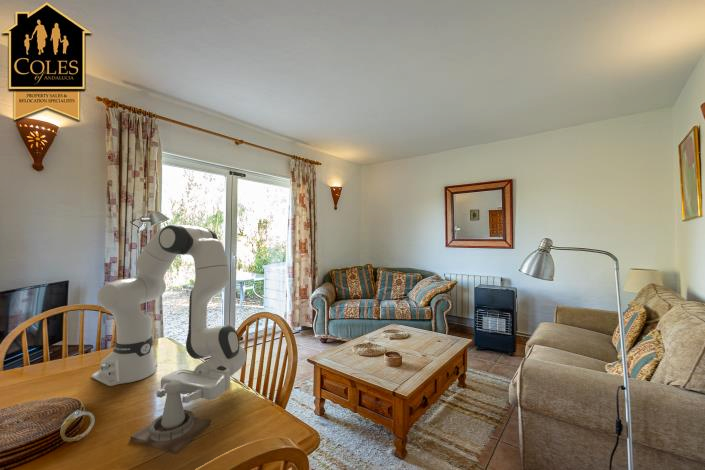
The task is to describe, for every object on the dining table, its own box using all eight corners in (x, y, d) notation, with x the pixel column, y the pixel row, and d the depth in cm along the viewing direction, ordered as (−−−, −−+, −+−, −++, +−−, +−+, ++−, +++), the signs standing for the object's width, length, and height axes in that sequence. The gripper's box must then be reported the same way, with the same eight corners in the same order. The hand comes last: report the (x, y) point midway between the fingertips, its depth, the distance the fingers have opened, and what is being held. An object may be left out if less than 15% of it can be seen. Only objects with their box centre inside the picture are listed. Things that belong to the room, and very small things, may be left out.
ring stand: (130, 440, 81) (130, 428, 81) (169, 414, 92) (169, 404, 92) (176, 453, 76) (176, 441, 76) (210, 424, 88) (210, 413, 88)
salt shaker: (168, 437, 80) (168, 390, 80) (156, 430, 83) (157, 384, 83) (189, 425, 85) (189, 380, 85) (177, 419, 88) (177, 375, 88)
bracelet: (61, 449, 77) (61, 419, 77) (59, 444, 79) (59, 414, 79) (96, 435, 83) (96, 406, 83) (92, 430, 85) (92, 402, 85)
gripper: (182, 361, 100) (143, 381, 87) (233, 370, 94) (199, 392, 81) (182, 380, 100) (143, 402, 87) (233, 389, 94) (199, 415, 81)
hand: (170, 397), depth 84 cm, fingers open, 8 cm apart
